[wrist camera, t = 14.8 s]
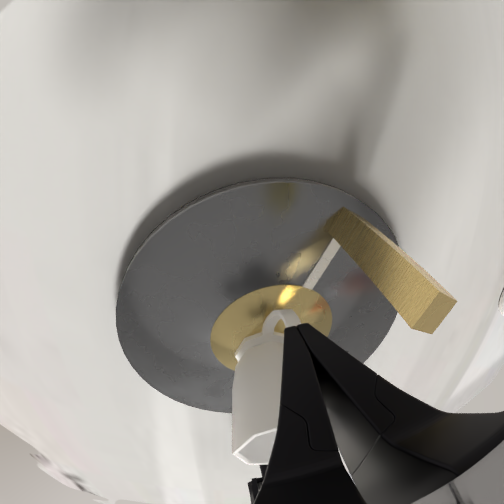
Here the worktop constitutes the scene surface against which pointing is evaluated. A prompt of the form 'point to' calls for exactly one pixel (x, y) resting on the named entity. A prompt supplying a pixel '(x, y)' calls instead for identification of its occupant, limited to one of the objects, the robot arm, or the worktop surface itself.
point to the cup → (258, 390)
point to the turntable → (264, 283)
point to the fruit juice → (501, 304)
